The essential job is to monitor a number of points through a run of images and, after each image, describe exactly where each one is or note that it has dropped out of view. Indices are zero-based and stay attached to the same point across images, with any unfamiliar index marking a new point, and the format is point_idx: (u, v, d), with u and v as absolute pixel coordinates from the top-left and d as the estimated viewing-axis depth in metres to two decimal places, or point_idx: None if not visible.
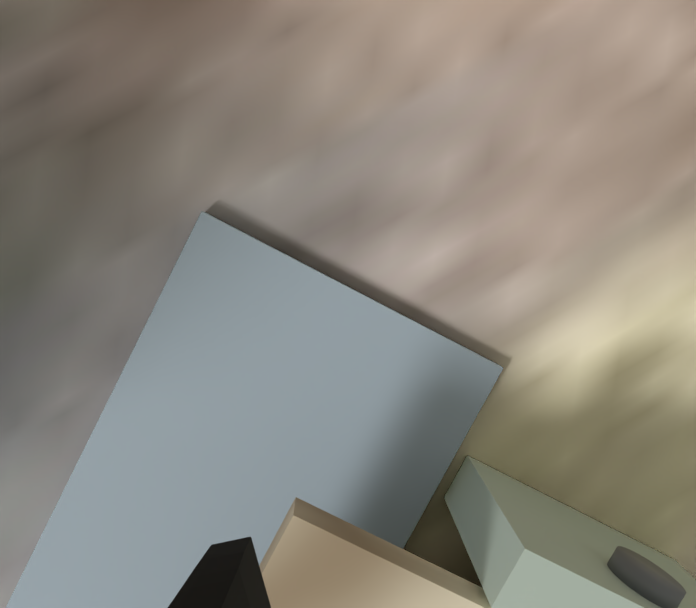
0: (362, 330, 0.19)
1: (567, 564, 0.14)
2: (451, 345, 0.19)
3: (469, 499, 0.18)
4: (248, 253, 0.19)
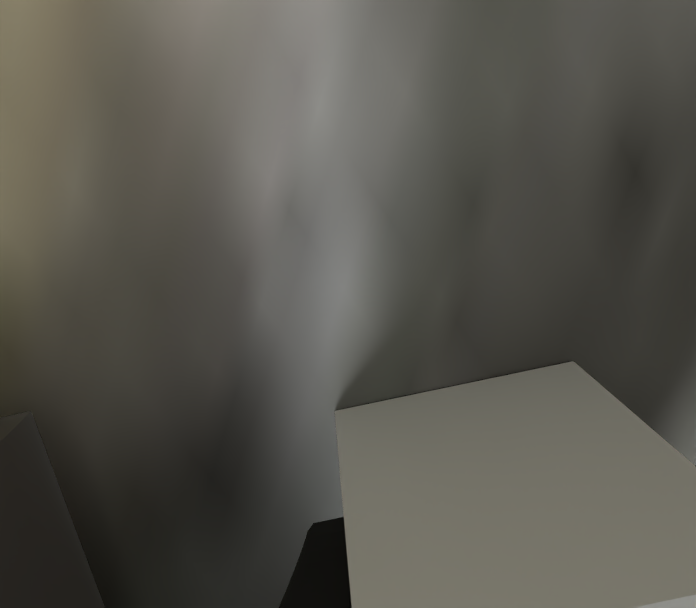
0: None
1: None
2: None
3: None
4: None
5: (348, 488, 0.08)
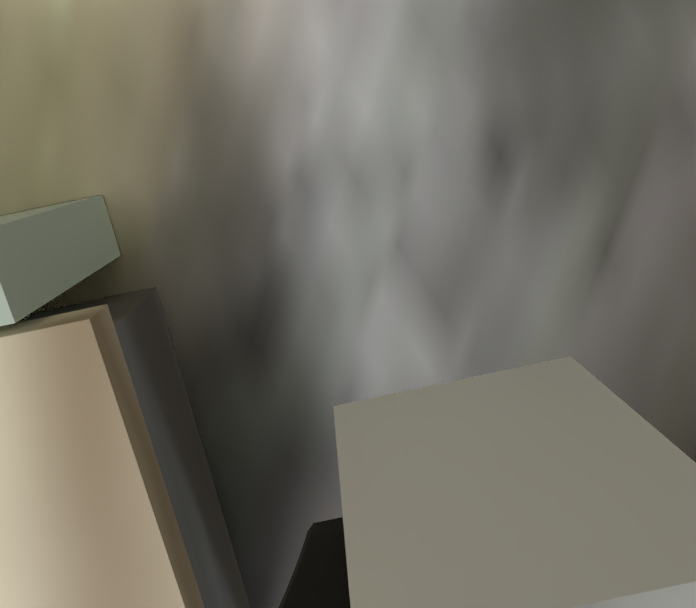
0: None
1: None
2: None
3: None
4: None
5: (346, 481, 0.08)
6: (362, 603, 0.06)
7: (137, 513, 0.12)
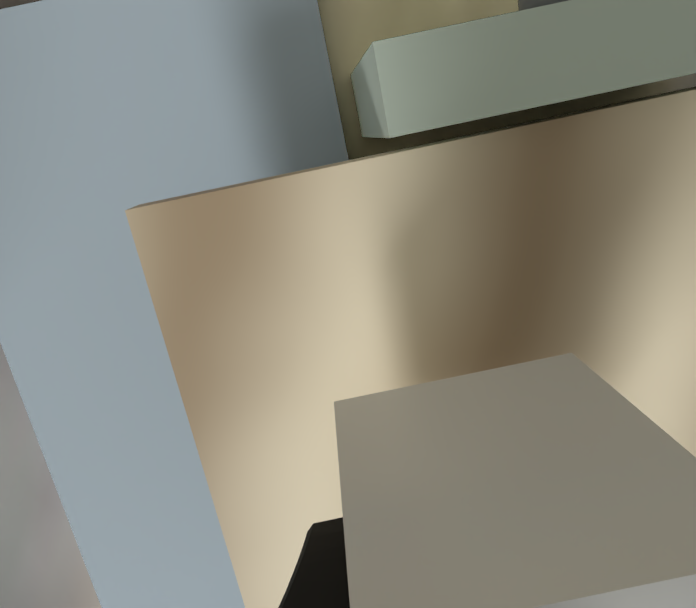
0: (136, 26, 0.15)
1: (442, 29, 0.11)
2: None
3: (361, 99, 0.14)
4: None
5: (346, 476, 0.08)
6: (361, 595, 0.06)
7: None
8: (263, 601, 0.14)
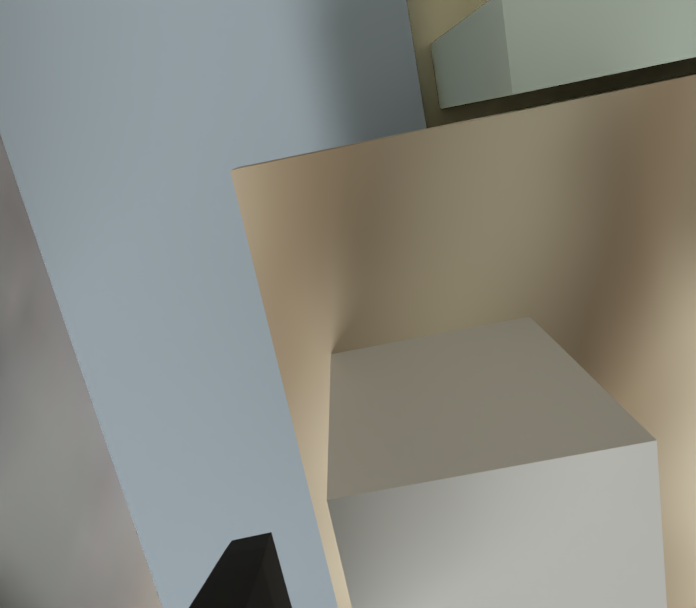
0: None
1: None
2: None
3: (451, 66, 0.14)
4: (35, 3, 0.15)
5: (334, 403, 0.10)
6: (336, 473, 0.08)
7: None
8: None
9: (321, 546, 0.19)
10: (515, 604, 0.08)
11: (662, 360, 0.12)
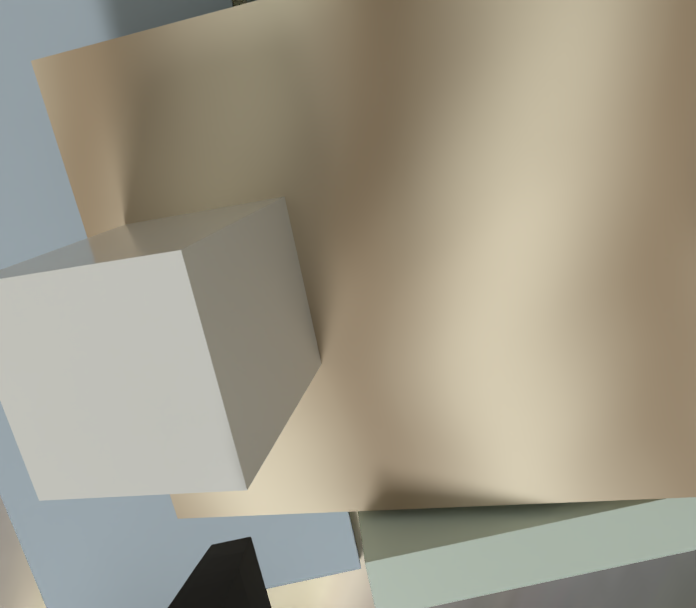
0: None
1: None
2: None
3: None
4: None
5: (66, 246, 0.12)
6: None
7: None
8: None
9: None
10: (105, 388, 0.10)
11: (410, 244, 0.13)
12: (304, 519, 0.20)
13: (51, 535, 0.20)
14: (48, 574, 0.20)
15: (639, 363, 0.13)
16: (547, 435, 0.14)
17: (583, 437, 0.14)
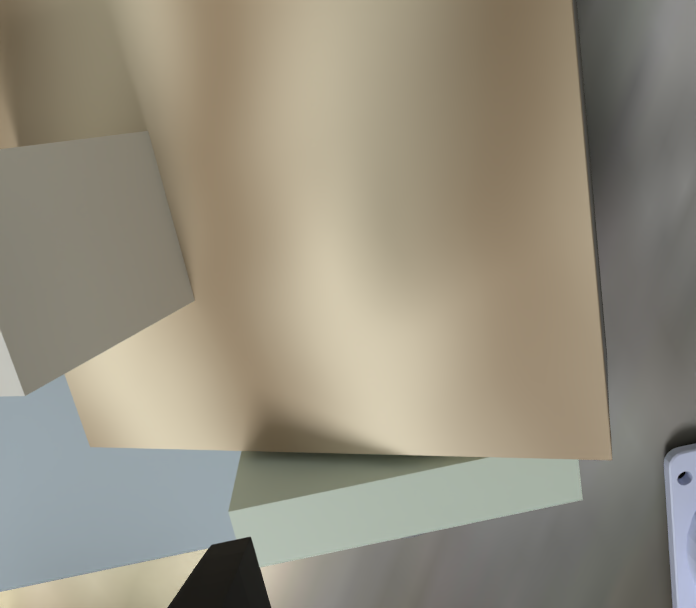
0: None
1: None
2: None
3: None
4: None
5: None
6: None
7: (555, 40, 0.10)
8: None
9: (66, 427, 0.19)
10: None
11: (261, 179, 0.13)
12: (209, 483, 0.20)
13: None
14: None
15: (487, 309, 0.12)
16: (405, 383, 0.13)
17: (439, 387, 0.13)
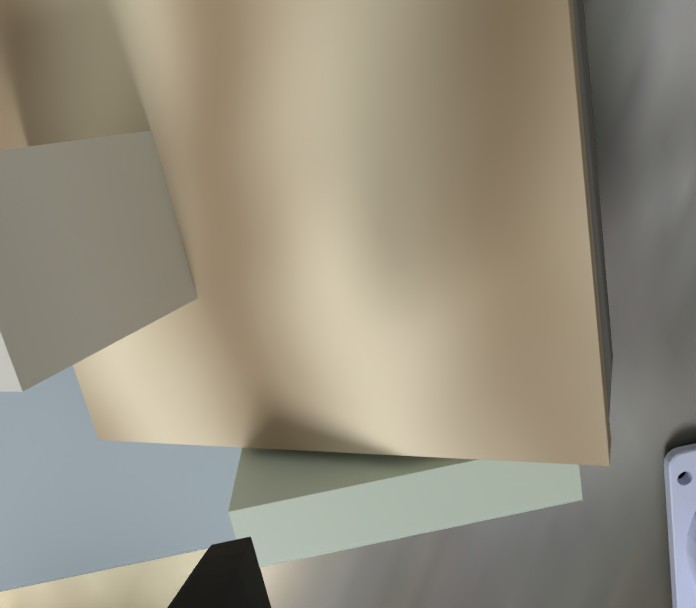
0: None
1: None
2: None
3: None
4: None
5: None
6: None
7: (551, 40, 0.10)
8: None
9: (66, 427, 0.19)
10: None
11: (261, 178, 0.13)
12: (209, 483, 0.20)
13: None
14: None
15: (484, 311, 0.12)
16: (402, 384, 0.13)
17: (437, 388, 0.13)
